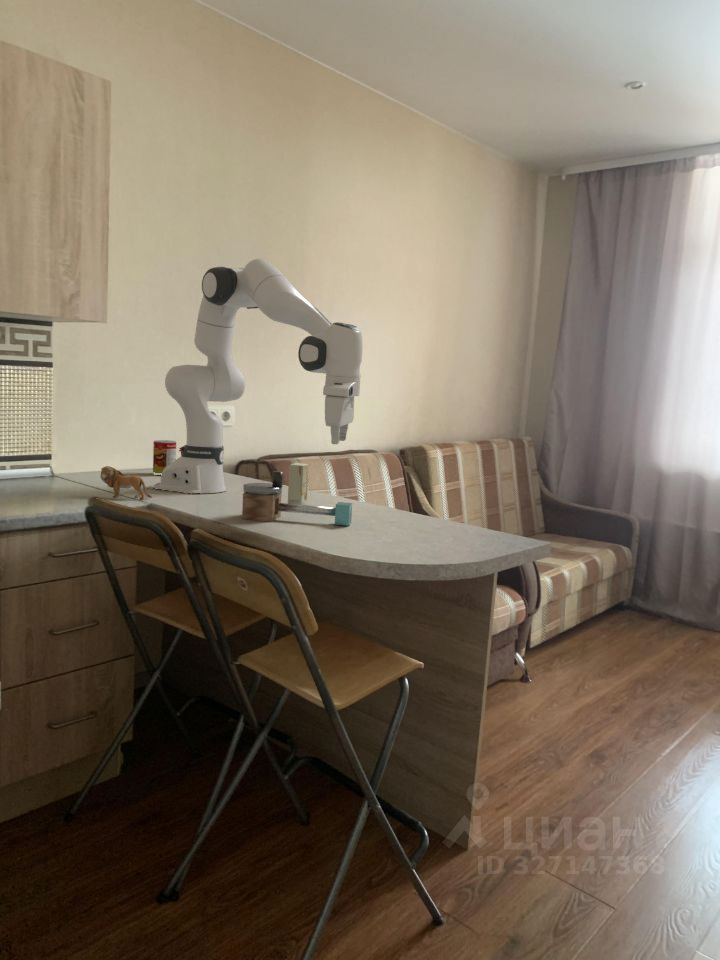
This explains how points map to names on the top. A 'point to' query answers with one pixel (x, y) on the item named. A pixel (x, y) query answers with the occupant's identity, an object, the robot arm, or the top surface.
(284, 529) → the top surface
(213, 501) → the top surface
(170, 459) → the canned food
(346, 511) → the teal and grey bar
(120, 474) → the lion figurine
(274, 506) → the block
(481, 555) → the top surface
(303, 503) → the skincare box
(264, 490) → the handwheel
